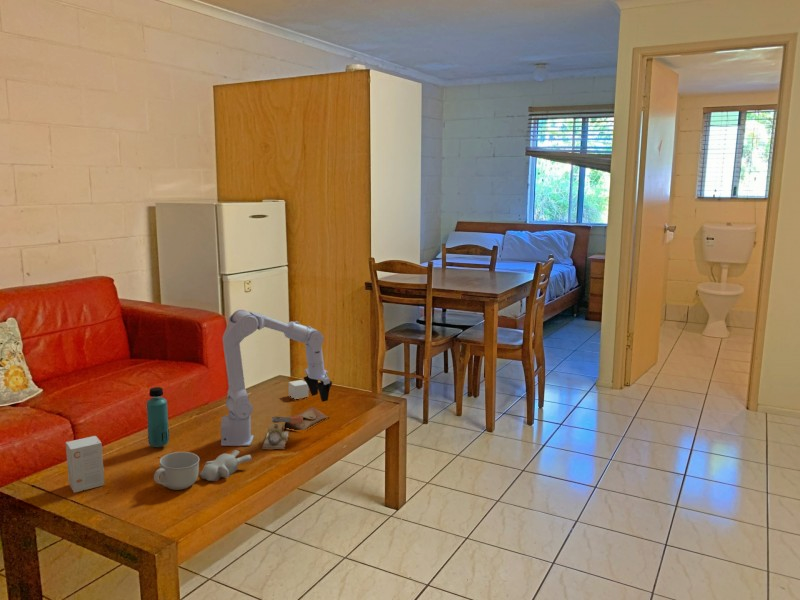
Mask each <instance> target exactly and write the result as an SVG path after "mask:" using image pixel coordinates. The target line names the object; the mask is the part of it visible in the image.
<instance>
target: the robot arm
mask: <svg viewBox="0 0 800 600" xmlns="http://www.w3.org/2000/svg"><path fill="white" fill-rule="evenodd" d="M227 322H228V323H227V325H226V328H225V330H224V332H223V336H222V345H223V353H224V360H225V362H224V363H225V367H226V368H225V369H226V375H227V384H228V389H227V392H226V393H227V398H226V401H225V406H226V408H227V409H228V410H229V411H228V414H227V415H223V416H222V417H221V421H220V446H224V447H226V446H228V447H229V446H231V447H233V446H234V447H241V446H242V447H244V446H245V447H246V446H248V447H249V446H251V444H252V441H253V440H254V437H255V436H254V435H253V434H252V433H251V432H252V430H251V429H252V425H251V424H252V423H251V419H252V418H251V415H252V413H253V410H254V407H253V404H252V403H251V402H250V399H249V395H248V392H247V390H246V385H245V377H244V376H245V375H244V370H243V362H242V361H243V360H242V352H241V344H240V343H242V342H243V340H244V339H246V338H247V337H249V336H250V335H252V334H253V333H255V332H256V331H257V330H259V331H260V330H262V329H264V328H267V329H271V330H273V331H278V332H280V333H281V332H282V333H283V334H284V336H285V338H287V339H289V340H290V339H291V340H293V341H296V342H300V343H304V345H305V346H304V347H305V356H306V364H307V368H305V369H304V372H305V375H306V376H304V377H303V381H305V382H306V383H307V385H308V387H309V392H310V394H311V396H316V395H318V394H319V398H320V400H321V402H322V403H323V402H328V400H329V395H330V389H331V387H332V386H333V382H332V380H330V377H328V373H329V371H328V370H327V369H325V363H324V355H323V354H324V353H323V347H322V346H323V343H324V338H325V337H324V336H323V334H322V332H321V331H320V330H317V329H316V328H313V327H312V326H310V325H307V326H306V325H304V324H300V321H297V320H294V321H288V322H287V323H286V322H283V321H280V320H278V319H275V318H272V317H270V316H267V315H264V314H262V313H259V312H258V313H257V312H253V311H250V310H249V311H246V310H245V309H238V310H235V311H234V312H233V313H232V314H231V315H230V316H229V317H228V321H227Z"/></svg>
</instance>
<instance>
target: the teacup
mask: <svg viewBox="0 0 800 600" xmlns="http://www.w3.org/2000/svg"><path fill="white" fill-rule="evenodd" d="M199 466H200V457H199V456H198V455H197V454H196V453H193V452H189V451H175V452H170V453H167V454H165V455H163V456H162V457H160V459H159V468H158V469H157V470H155V472H154V474H153V480H154V481H155V483H156V484H158V485H159V484H160V485H162V486H163V487H166V488H168V489H169V490H170V489H171V490H174V491H178V490H179V491H180V490H181V491H182V490H185V489H187V488H189V487H191V486H192V485H194V483H196V481H197V480H198V477H199V473H200V471H199V469H200V467H199Z"/></svg>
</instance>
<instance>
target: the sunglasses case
mask: <svg viewBox="0 0 800 600" xmlns="http://www.w3.org/2000/svg"><path fill="white" fill-rule="evenodd" d="M296 416H303V423H291V422H284V424H283V428H284V429H285V428H289V429H294V430H306V429H308V428H309V427H311V426H313V425H314V424H316V423H318V422H320V421H322V420H324V419H326V418H327V417H329V416H328V415H326V414H324V413H323V412H321V411H320V410H318V409H317V408H316V407H315V406H312V407H310V408H308V409H306V410H304V411H303V412H301V413H299V414H297V415H296ZM326 420H327V419H326ZM324 421H325V420H324ZM322 422H323V421H322ZM320 423H321V422H320Z"/></svg>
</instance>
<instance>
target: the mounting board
mask: <svg viewBox="0 0 800 600" xmlns="http://www.w3.org/2000/svg"><path fill="white" fill-rule="evenodd" d="M288 434H290V430H286V431H284V430H283V439H282V441H280V442H279V443H278V444H277V445H274V446H273V445H271V444H270V443H269V441H268V432H267V434H266V436H265V438H264V441H263V445H262V448H261V449H284V450H285V448H286V445H285V444H287V442H286V441H288V438H289V435H288ZM287 437H288V438H287ZM284 447H285V448H284Z"/></svg>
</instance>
